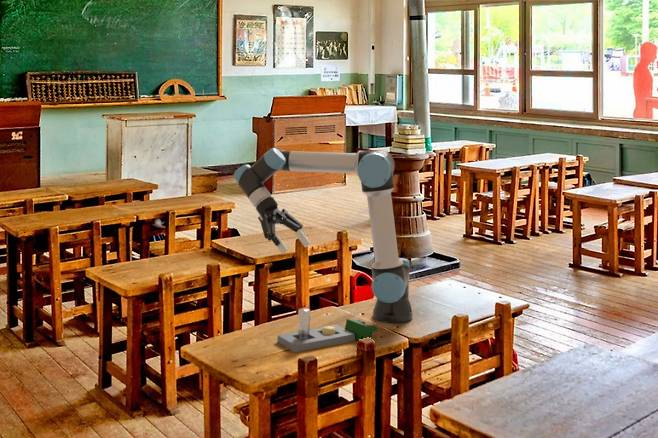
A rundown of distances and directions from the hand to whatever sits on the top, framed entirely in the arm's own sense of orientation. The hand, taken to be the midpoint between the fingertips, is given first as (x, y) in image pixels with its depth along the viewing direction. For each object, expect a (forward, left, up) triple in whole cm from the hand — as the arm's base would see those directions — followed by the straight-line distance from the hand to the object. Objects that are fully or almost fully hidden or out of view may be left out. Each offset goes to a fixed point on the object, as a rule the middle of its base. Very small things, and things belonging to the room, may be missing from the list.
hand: (296, 248), depth 292 cm
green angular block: (-15, +20, -30) cm, 39 cm away
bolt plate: (+1, +16, -30) cm, 34 cm away
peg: (+6, +16, -30) cm, 34 cm away
